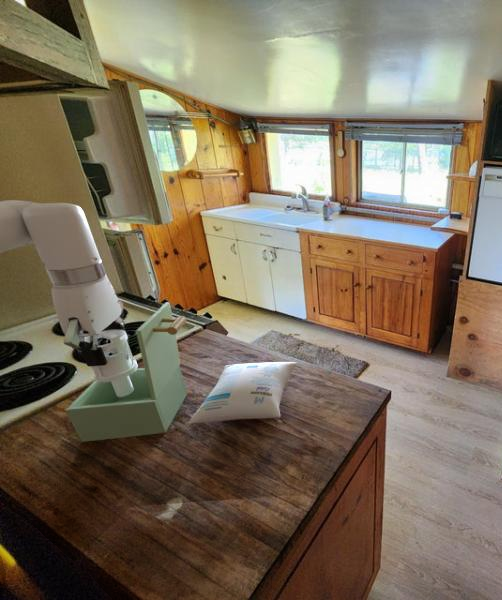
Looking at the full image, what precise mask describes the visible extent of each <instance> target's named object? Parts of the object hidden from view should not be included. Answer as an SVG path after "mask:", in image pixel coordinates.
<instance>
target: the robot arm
mask: <svg viewBox="0 0 502 600" xmlns="http://www.w3.org/2000/svg"><path fill="white" fill-rule="evenodd" d="M29 245H34V246H35V249H36V251H37V254H38V256H39V258H40V261H41V263H42V265H43V268H44V270H45V272H46V275H47V276H48V279H49V282H50V283H51V286H52V287H51V288H50V294H51V298H52V303H53V308H54V310H55V314H56V318H57V320H58V323H59V325H60V328H61V330H62V333H63V334H64V338H63V345H66V346H68V347H70V348H72V349H73V350H76V351H78V352H80V353H81V355H82V357H83V359H84V362H85V364H86V366H87V367H91V366H103V365H106V364H107V360H106V357H105V355H104V352H103V350H102V348H101V347H98V346H99V339H98V333H100V332H102V331H106V330H115V329H117V330H124V331H125V332H126V334H127V337H128V333H127V331H126V328H125V320H124V315H125V314H124V302H123V301H121V300H119V298H118V296H117V294H116V291H115V289H114V286H113V285H112V283H111V281H110V279H109V277H108V276H107V272H106V269H105V266H104V265H103V261H102V259H101V257H100V253H99V250H98V247H97V245H96V242H95V239H94V236H93V234H92V231H91V228H90V224H89V223H88V219H87V217H86V215H85V212H84V210H83V209H82V208H81V207H80V206H79V205H77V204H73V203H68V202H47V203H42V202H41V203H39V202H33V201H27V200H18V199H9V200H7V199H6V200H0V254H1V253H4V252H8V251H11V250H14V249H18V248H21V247H25V246H29ZM84 332H88V333H84ZM86 337H90V343H89V342H85V341H84V339H85V338H86ZM127 342H128V343H130V339H129V337H128V339H127ZM109 343H111V341H110V340H109Z"/></svg>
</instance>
